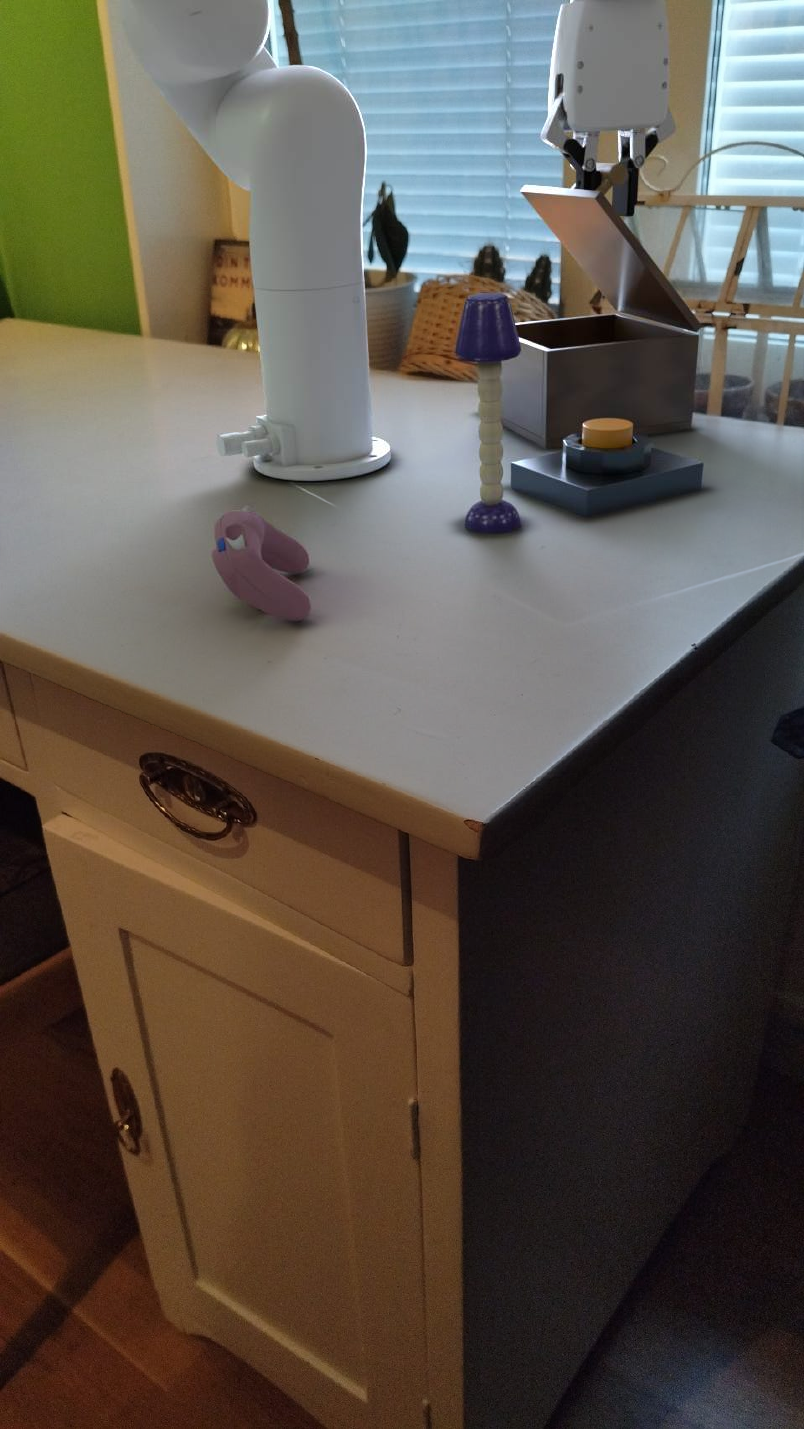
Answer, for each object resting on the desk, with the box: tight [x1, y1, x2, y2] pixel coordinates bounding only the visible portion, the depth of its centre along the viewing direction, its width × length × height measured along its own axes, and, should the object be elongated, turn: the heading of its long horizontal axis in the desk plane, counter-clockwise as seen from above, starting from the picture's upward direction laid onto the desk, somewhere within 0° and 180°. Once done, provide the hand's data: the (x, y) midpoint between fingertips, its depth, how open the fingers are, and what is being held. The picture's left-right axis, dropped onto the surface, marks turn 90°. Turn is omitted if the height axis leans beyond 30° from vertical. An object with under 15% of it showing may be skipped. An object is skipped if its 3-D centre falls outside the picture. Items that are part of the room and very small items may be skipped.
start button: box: [582, 418, 633, 448], centre depth 89 cm, size 4×4×2 cm
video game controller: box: [211, 505, 312, 622], centre depth 72 cm, size 10×5×7 cm, turn 5°
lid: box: [519, 162, 703, 333], centre depth 104 cm, size 16×16×5 cm
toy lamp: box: [454, 292, 521, 535], centre depth 80 cm, size 5×5×17 cm
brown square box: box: [499, 312, 700, 449], centre depth 109 cm, size 16×16×9 cm
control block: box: [510, 432, 705, 518], centre depth 90 cm, size 12×10×4 cm
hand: (605, 215), depth 103 cm, fingers open, 3 cm apart
